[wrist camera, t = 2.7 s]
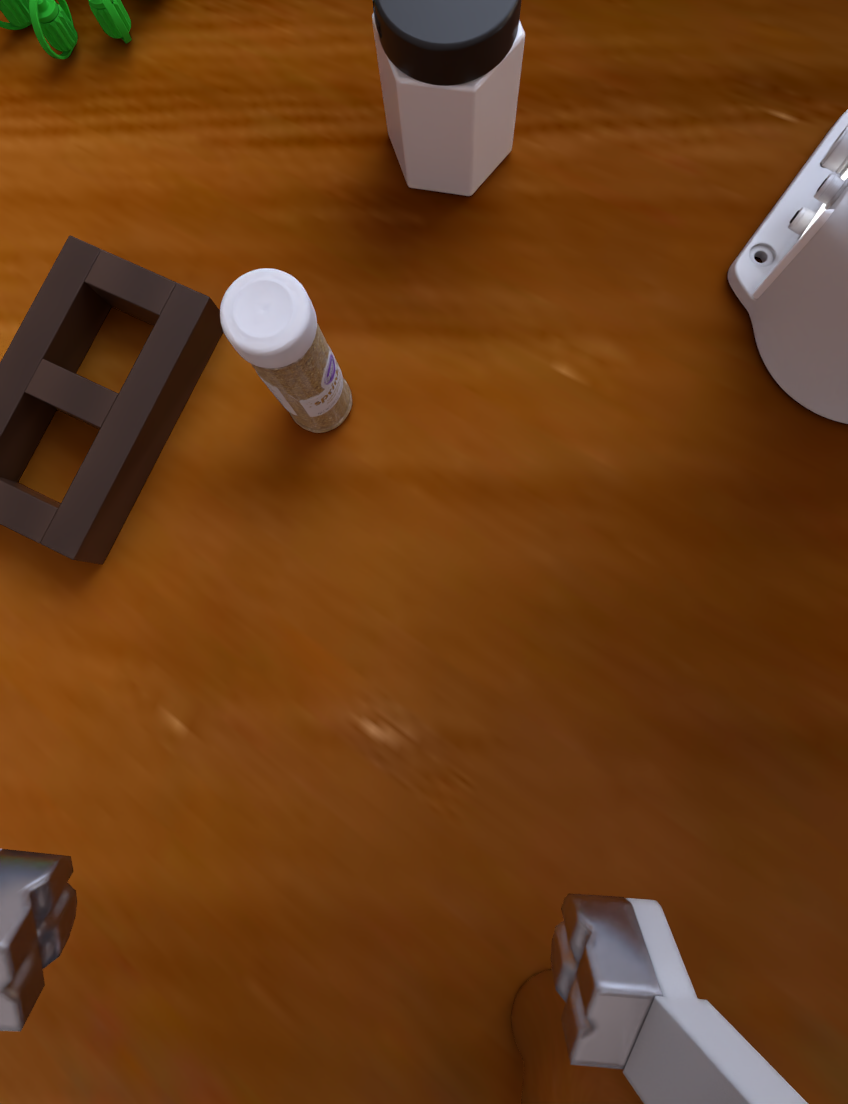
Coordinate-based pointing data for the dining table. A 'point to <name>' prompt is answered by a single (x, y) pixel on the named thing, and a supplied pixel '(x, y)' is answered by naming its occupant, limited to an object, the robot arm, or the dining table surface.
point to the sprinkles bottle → (286, 347)
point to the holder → (96, 394)
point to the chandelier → (63, 21)
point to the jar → (449, 87)
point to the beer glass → (558, 1054)
